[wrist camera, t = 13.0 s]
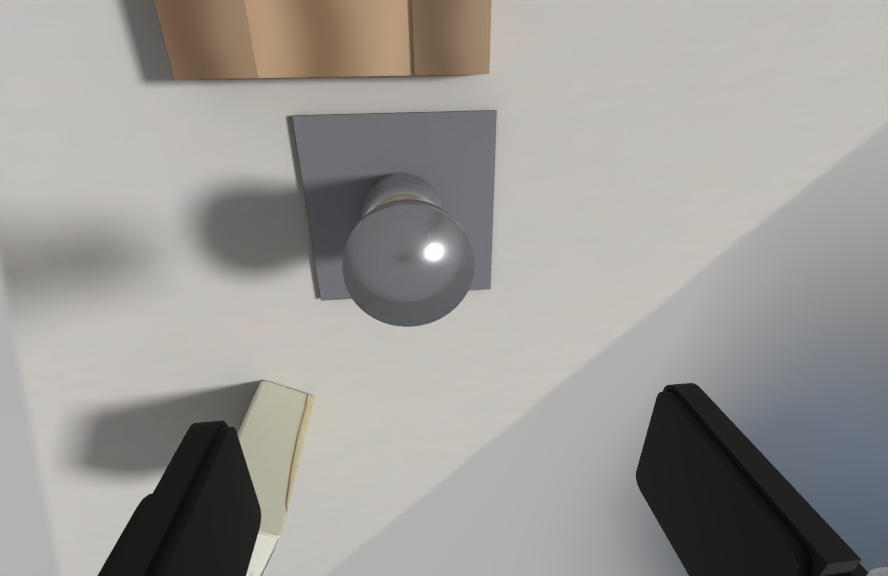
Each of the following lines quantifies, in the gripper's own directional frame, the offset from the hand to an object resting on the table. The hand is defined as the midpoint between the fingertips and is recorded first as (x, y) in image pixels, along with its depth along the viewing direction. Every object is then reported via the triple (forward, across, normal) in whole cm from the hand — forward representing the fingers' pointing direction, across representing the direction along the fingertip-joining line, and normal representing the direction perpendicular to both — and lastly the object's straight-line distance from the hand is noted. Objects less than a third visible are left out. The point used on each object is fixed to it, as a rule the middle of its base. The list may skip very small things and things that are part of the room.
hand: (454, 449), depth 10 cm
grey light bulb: (+21, +1, +1) cm, 21 cm away
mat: (+21, +1, +1) cm, 21 cm away
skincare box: (+21, +12, +17) cm, 29 cm away
